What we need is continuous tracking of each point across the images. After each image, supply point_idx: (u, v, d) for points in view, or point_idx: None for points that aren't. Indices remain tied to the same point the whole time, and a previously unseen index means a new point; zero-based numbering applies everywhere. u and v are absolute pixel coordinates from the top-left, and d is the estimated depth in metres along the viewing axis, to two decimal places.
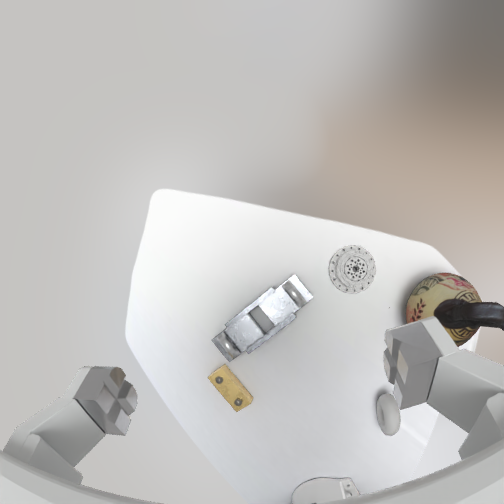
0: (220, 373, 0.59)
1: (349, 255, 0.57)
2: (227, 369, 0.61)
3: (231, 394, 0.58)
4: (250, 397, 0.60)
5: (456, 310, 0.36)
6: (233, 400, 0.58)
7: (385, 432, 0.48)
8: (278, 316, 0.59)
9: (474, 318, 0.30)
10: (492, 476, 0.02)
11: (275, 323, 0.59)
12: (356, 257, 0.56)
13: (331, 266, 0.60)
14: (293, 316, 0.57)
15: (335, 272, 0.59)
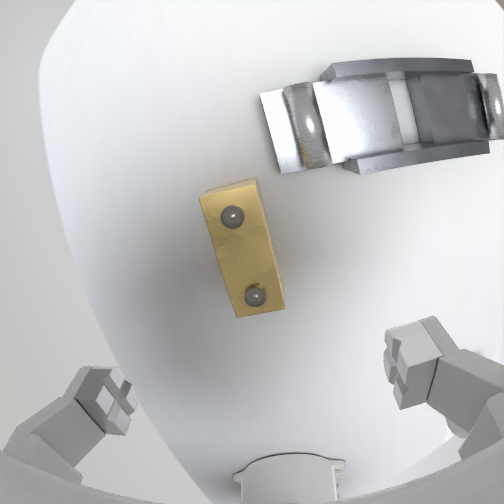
0: (245, 197, 0.20)
1: None
2: (259, 194, 0.22)
3: (246, 269, 0.22)
4: (282, 289, 0.25)
5: None
6: (243, 286, 0.23)
7: (461, 432, 0.24)
8: (448, 127, 0.18)
9: None
10: (492, 476, 0.02)
11: (437, 137, 0.18)
12: None
13: None
14: (486, 147, 0.16)
15: None
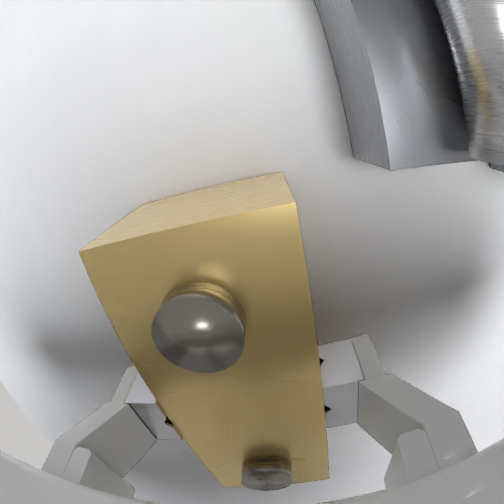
0: (252, 259, 0.05)
1: None
2: None
3: (246, 437, 0.07)
4: None
5: None
6: (238, 459, 0.08)
7: None
8: None
9: None
10: (492, 476, 0.02)
11: None
12: None
13: None
14: None
15: None
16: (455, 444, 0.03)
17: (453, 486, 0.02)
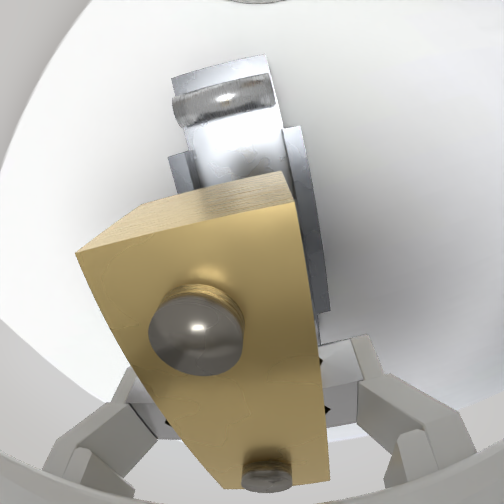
0: (250, 260, 0.05)
1: None
2: None
3: (246, 440, 0.07)
4: None
5: None
6: (238, 461, 0.07)
7: None
8: None
9: None
10: (492, 476, 0.02)
11: None
12: None
13: None
14: (292, 132, 0.15)
15: None
16: (454, 444, 0.03)
17: (453, 486, 0.02)
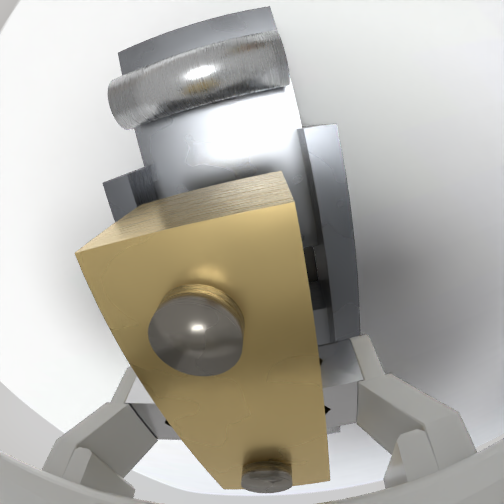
0: (250, 260, 0.05)
1: None
2: None
3: (246, 440, 0.07)
4: None
5: None
6: (238, 461, 0.07)
7: None
8: None
9: None
10: (492, 476, 0.02)
11: (305, 239, 0.11)
12: None
13: None
14: (322, 135, 0.08)
15: None
16: (454, 444, 0.03)
17: (453, 486, 0.02)
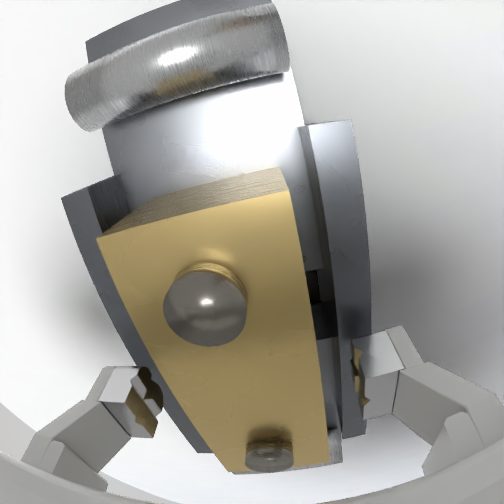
0: (252, 241, 0.06)
1: None
2: None
3: (249, 416, 0.08)
4: None
5: None
6: (242, 440, 0.08)
7: None
8: None
9: None
10: (492, 476, 0.02)
11: (308, 261, 0.09)
12: None
13: None
14: (332, 135, 0.06)
15: None
16: (496, 424, 0.03)
17: (453, 486, 0.02)
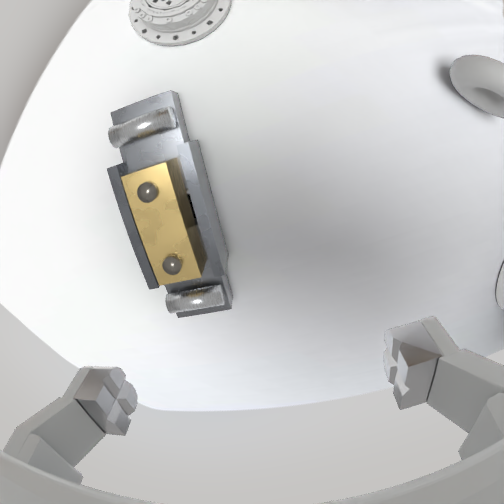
0: (158, 175, 0.22)
1: None
2: (176, 172, 0.24)
3: (162, 239, 0.24)
4: (202, 260, 0.27)
5: None
6: (162, 256, 0.24)
7: None
8: None
9: None
10: (492, 476, 0.02)
11: (189, 190, 0.26)
12: None
13: (149, 36, 0.21)
14: (183, 147, 0.22)
15: (162, 31, 0.20)
16: None
17: (453, 486, 0.02)
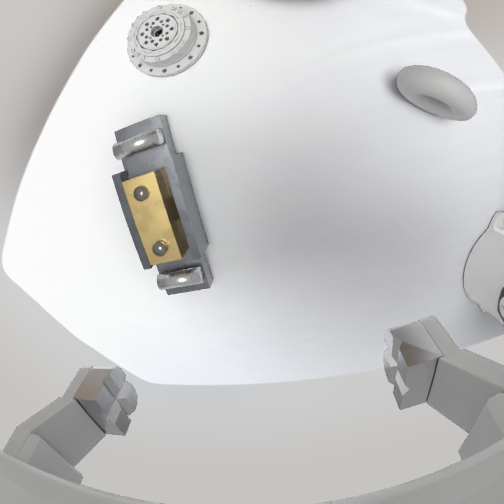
0: (149, 180, 0.29)
1: (132, 36, 0.24)
2: (163, 178, 0.31)
3: (152, 229, 0.31)
4: (184, 246, 0.34)
5: None
6: (152, 242, 0.32)
7: (466, 116, 0.23)
8: None
9: None
10: (492, 476, 0.02)
11: None
12: (141, 26, 0.24)
13: (144, 69, 0.28)
14: (167, 159, 0.30)
15: (153, 65, 0.28)
16: None
17: (453, 486, 0.02)
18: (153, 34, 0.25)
